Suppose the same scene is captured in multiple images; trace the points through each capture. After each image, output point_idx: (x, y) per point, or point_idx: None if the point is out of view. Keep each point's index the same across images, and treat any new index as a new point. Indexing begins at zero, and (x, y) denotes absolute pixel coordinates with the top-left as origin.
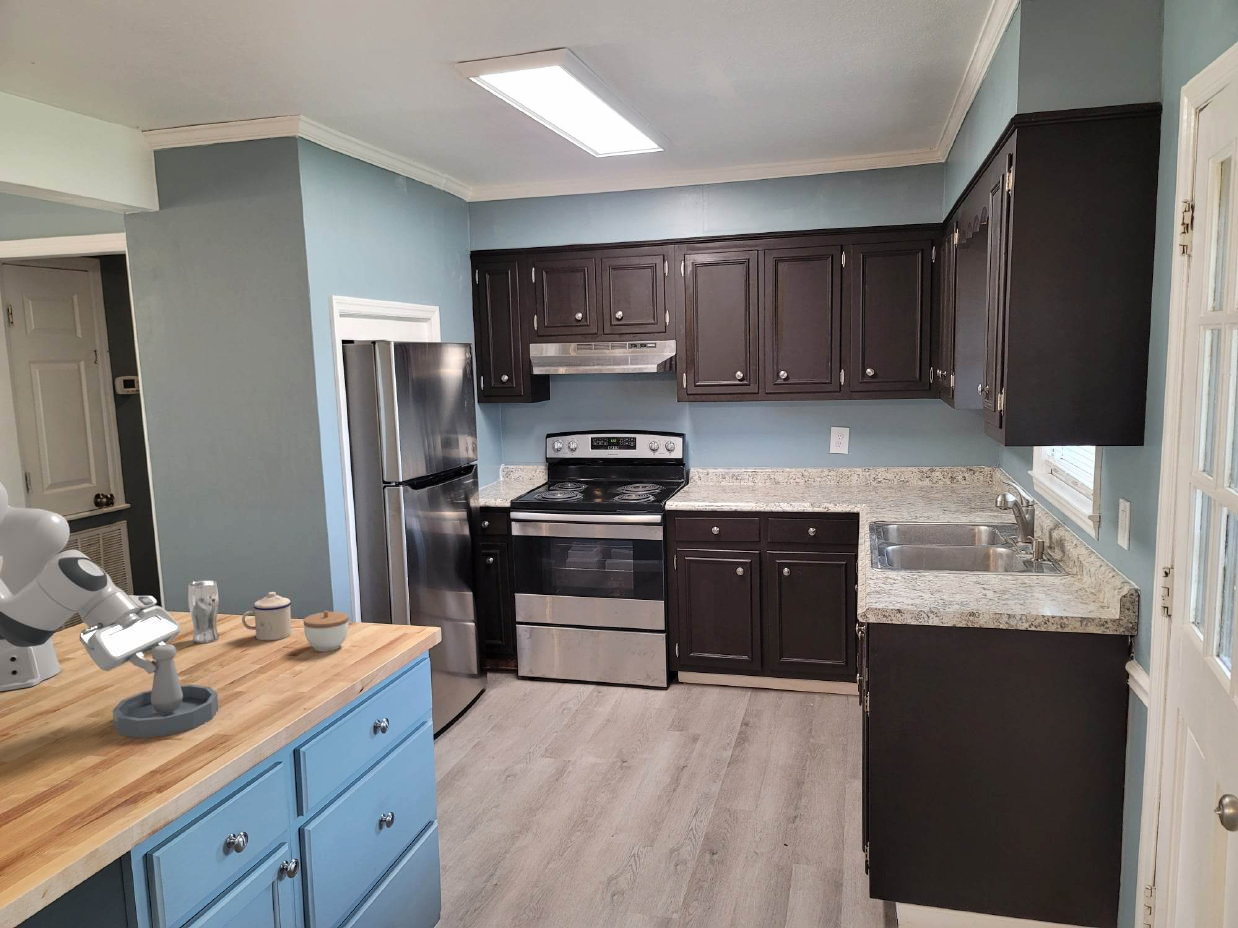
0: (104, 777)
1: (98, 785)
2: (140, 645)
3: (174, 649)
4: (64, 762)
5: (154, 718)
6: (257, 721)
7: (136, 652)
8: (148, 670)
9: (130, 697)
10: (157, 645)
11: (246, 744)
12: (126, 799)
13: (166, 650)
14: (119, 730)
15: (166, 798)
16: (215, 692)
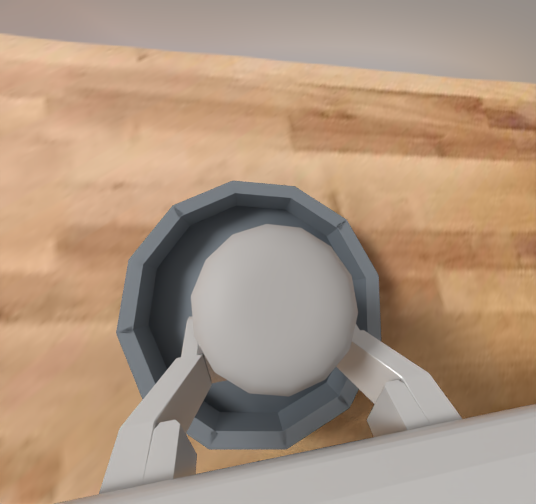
0: (487, 211)
1: (507, 199)
2: (443, 473)
3: (246, 232)
4: (484, 333)
5: (355, 244)
6: (222, 108)
7: (467, 418)
8: None
9: (258, 442)
10: (181, 469)
11: (313, 74)
12: (513, 129)
13: (313, 241)
14: None
15: (487, 81)
16: (166, 216)
